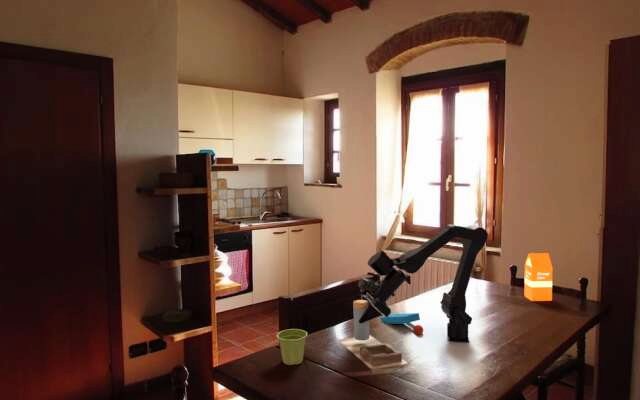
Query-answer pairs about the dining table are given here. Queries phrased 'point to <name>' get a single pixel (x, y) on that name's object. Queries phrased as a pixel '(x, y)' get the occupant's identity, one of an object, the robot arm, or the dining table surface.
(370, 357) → the jig
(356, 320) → the orange-capped blue cylinder
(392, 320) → the lever
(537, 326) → the dining table surface
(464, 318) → the robot arm
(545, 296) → the orange juice
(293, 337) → the plant pot
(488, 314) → the dining table surface
